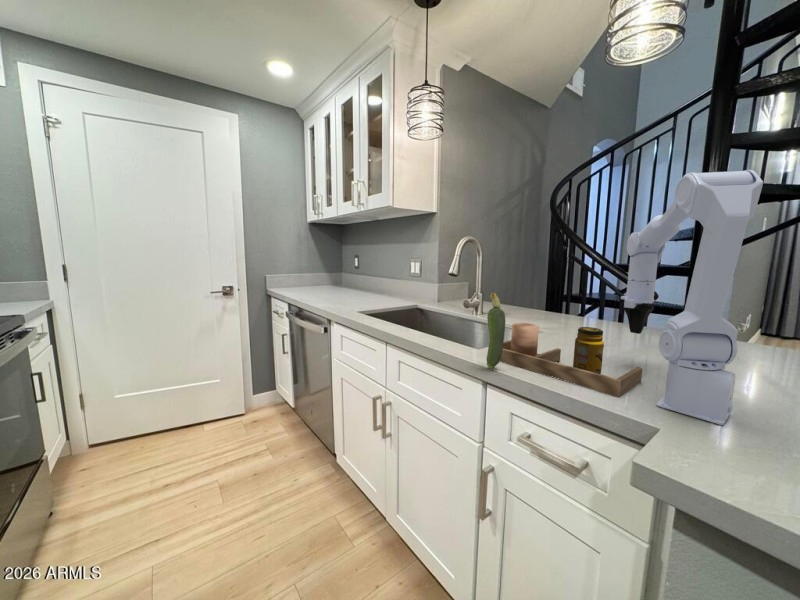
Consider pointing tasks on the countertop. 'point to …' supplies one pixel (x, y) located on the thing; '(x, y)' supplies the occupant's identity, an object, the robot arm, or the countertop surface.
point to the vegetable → (495, 332)
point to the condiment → (589, 349)
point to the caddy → (526, 356)
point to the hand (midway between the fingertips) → (635, 332)
